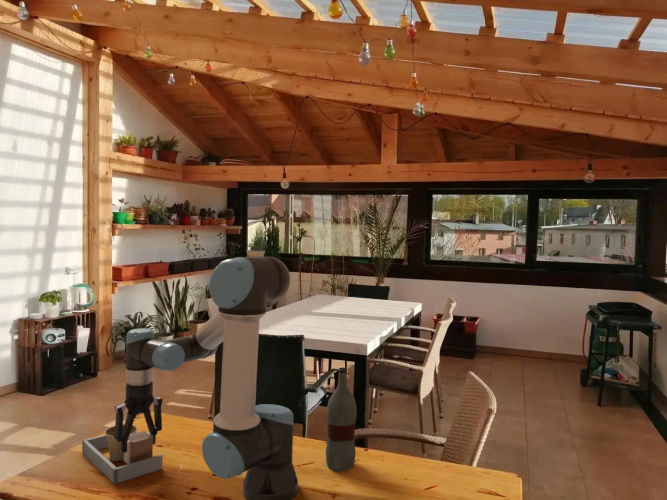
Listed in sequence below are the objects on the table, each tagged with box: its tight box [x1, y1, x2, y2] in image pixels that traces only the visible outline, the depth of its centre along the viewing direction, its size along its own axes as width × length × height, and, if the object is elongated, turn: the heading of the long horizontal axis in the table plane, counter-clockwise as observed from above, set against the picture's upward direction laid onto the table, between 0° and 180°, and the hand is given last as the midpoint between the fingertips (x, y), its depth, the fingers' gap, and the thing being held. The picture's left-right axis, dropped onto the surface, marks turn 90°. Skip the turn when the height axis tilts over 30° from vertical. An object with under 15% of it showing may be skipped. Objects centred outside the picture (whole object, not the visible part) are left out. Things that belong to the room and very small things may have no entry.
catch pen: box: [81, 434, 163, 485], centre depth 156 cm, size 26×14×4 cm, turn 44°
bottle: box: [325, 367, 358, 473], centre depth 156 cm, size 9×9×30 cm
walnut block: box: [128, 430, 154, 463], centre depth 152 cm, size 6×6×7 cm
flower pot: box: [104, 423, 138, 462], centre depth 158 cm, size 9×9×9 cm
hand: (138, 458), depth 152 cm, fingers closed on walnut block, 6 cm apart
